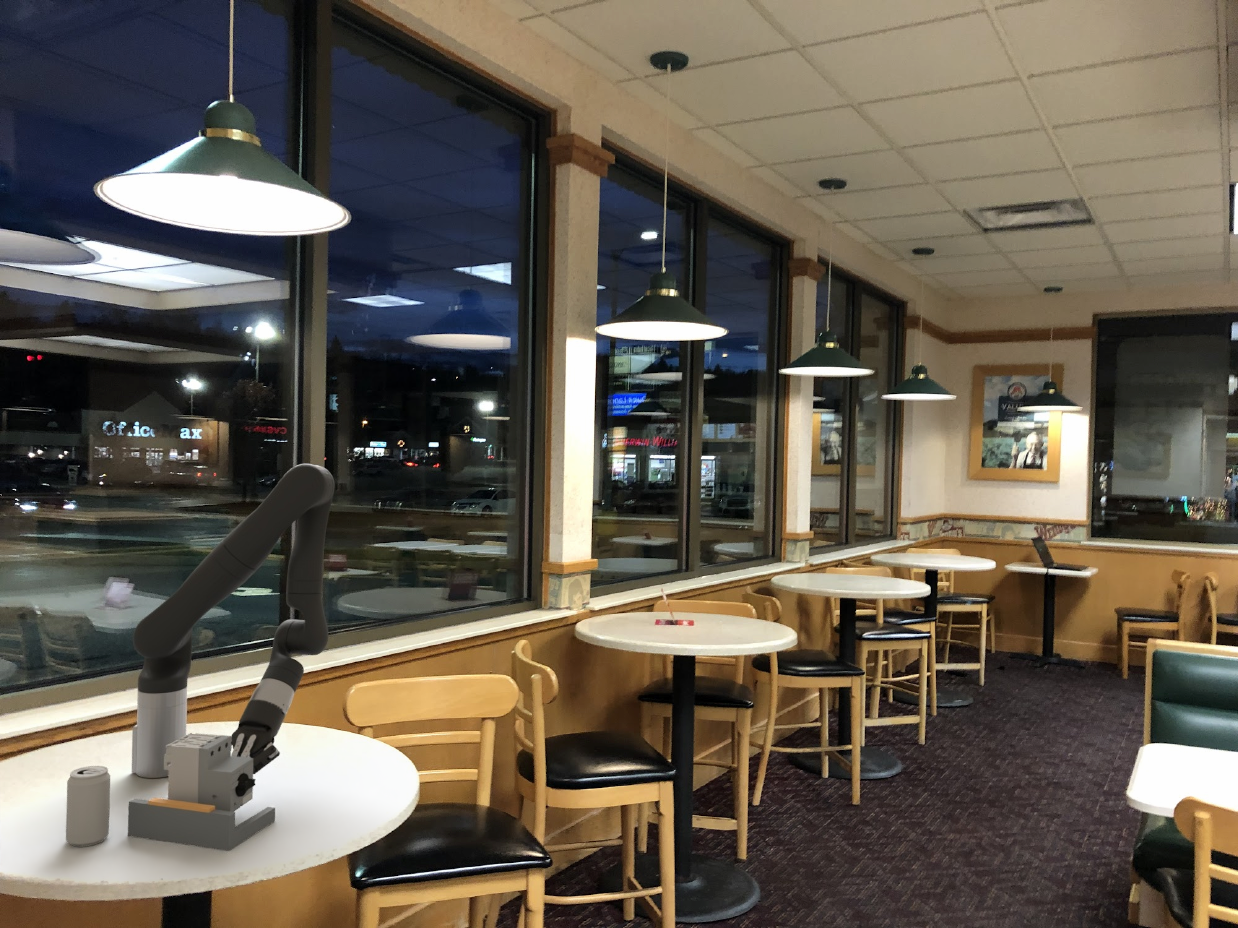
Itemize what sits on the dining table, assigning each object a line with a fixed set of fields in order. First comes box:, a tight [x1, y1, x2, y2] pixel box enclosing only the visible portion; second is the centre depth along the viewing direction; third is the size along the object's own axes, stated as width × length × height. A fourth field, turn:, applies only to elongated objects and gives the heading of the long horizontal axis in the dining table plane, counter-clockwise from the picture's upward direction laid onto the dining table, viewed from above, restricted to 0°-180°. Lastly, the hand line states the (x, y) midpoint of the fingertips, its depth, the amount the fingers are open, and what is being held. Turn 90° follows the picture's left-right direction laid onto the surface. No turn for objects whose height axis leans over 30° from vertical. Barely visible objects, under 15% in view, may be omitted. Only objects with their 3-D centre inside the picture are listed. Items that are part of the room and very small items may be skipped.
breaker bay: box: [127, 797, 276, 852], centre depth 165 cm, size 20×13×7 cm, turn 77°
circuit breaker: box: [164, 732, 256, 812], centre depth 166 cm, size 8×14×15 cm, turn 83°
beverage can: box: [65, 765, 111, 848], centre depth 158 cm, size 6×6×12 cm
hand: (227, 792), depth 171 cm, fingers closed
